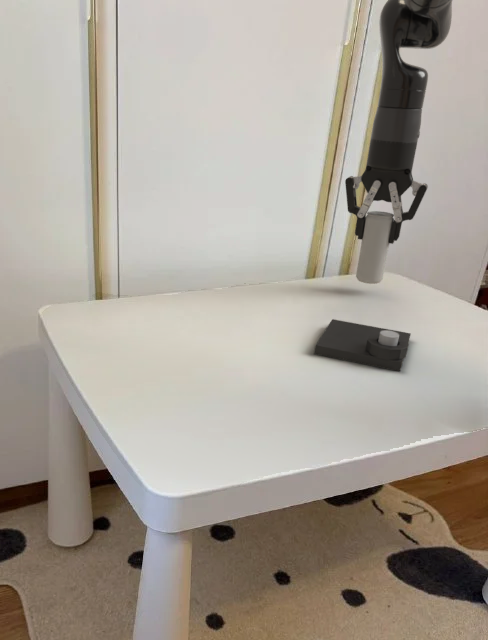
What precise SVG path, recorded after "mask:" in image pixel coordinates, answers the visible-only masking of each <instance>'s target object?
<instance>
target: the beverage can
mask: <svg viewBox="0 0 488 640" xmlns="http://www.w3.org/2000/svg"><path fill="white" fill-rule="evenodd" d="M394 220H395V217H394V213H392V212H388V211H380V210H371V211H367V213H366V218H365V224H364V230H363V236H362V240H361V243H360V250H359V256H358V261H357V267H356V273H355V277H356V279H357V281H358V282H361V283H363V284H368V285H377V284H380V283H381V282H382V281H383V279H384V274H385V269H386V264H387V259H388V253H389V249H390V245H391V244H390V243H389V240H390V234H391V229H392V224H393V221H394Z"/></svg>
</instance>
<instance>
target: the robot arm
mask: <svg viewBox="0 0 488 640" xmlns="http://www.w3.org/2000/svg"><path fill="white" fill-rule="evenodd" d="M452 16H453V0H387V1H386V2H385V4H384V5H383V7H382V9H381V12H380V14H379V19H378V20H379V21H378V24H379V25H378V26H379V38H380V48H381V62H382V63H381V64H382V66H381V68H382V69H381V73H382V74H381V82H380V89H379V94H378V95H379V96H378V101H377V108H376V112H375V114H374V119H373V122H372V129H371V133H370V134H371V135H370V139H369V140H370V141H369V147H368V153H367V160H366V165H365V169H364V171H363V173H362V174H361V175H357V176H353V175H350V176H348V177H347V178H346V179H345V181H344V182H345V195H346V206H347V212H348V213H349V214H352V215H355V217H356V222H355V223H356V224H355V230H354V234H355V236H356V237H357V240H361V241H362V236H363V230H364V224H365V218H366V216H367V212H369V209H370V208H371V206H372V204H373V203H374V201H375V202H380V201H383V202H386V203H391V208H392V212H393V214H394V216H393V218H394V221H393V224H392V229H391V234H390V240H389V243H390V244H389V245H394V244H395V242H397V241H398V239H399V238H400V235H401V230H402V224H403V222H405V221H411V220H414V218H415V216H416V214H417V211H418V210H419V207H420V205H421V203H422V201H423V199H424V196H425V194H426V192H427V190H428V188H429V186H428V184H427V183H426V182H425V183H424V182H423V183H422V182H419V181H416V180H414V178H413V167H414V161H415V157H416V151H417V146H418V143H419V142H418V141H419V138H420V135H421V134H420V133H421V132H420V131H421V125H422V113H423V107H424V103H425V102H424V101H425V96H426V92H427V91H426V90H427V87H428V81H429V73H428V70H426V68H423V67H421V66H419V65H414V64H410V63H408V62H406V61H404V60H403V58H402V57H401V54H400V49H417V50H419V49H420V50H432V49H434V48H437V47H438V46H440V45H442V43H443V42H444V41H446V39H447V37H448V36H449V33H450V29H451V27H452ZM360 183H362V185H363V187H364V189H365V192H366V193H367V194H366V197H364V200H363V202H362V205H361V206H359V205H358V201H357V191H356V190H357V189H359V187H360ZM410 188H411V189H412V191H411V193H412V196H413V197H414V198H413V201H412V203H411V204H410V207H409V209H408V211H405V212H404V210H403V208H404V207H403V200H402V196H403V195H404V193H406V191H408V190H409V189H410Z"/></svg>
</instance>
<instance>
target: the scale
mask: <svg viewBox="0 0 488 640" xmlns="http://www.w3.org/2000/svg"><path fill="white" fill-rule="evenodd" d="M384 330H389V331H394V332H396V333H398V334H399V339H398V344H397V346H386V345H382V344H380V343H378V340H379V335H380V332H381V331H384ZM410 339H411V333H410V332H405V331H401V330H400V331H399V330H394V329H390V328H389V329H388V328H383V327H378V326H373V325H367V324H361V323H356V322H350V321H344V320H339V319H334V318H333V319H331V321H330V322H329V323H328V325H327V327H326V328H325V330H324V331H323V333H322V334H321V336H320V337H319V339H318V341H317V342H316V343H315V346H314V353H313V354H314V355H317V356H322V357H327V358H332V359H337V360H340V361H341V360H342V361H347V362H351V363H357V364H362V365H367V366H372V367H375V368H382V369H387V370H392V371H397V372H401V369H402V367H403V363H404V359H406V357H407V353H408V350H409V349H408V348H409V345H410V343H409V342H410Z"/></svg>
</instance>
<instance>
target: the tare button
mask: <svg viewBox="0 0 488 640" xmlns="http://www.w3.org/2000/svg"><path fill="white" fill-rule="evenodd" d="M389 330H390V329H389ZM389 330H384V331H381V332H380V335H379V340H378V343H380V344H382V345H386V346H397V344H398V339H399V334H398V333H396V332H394V331H389Z"/></svg>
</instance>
